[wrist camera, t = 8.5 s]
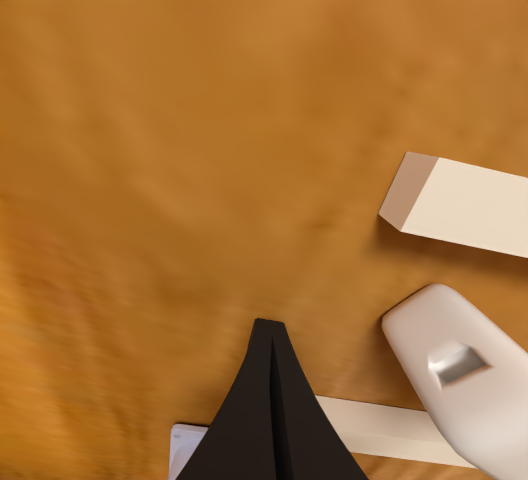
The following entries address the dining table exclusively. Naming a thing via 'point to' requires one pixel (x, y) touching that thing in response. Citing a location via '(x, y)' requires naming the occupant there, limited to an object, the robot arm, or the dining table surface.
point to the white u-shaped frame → (448, 229)
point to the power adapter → (465, 378)
